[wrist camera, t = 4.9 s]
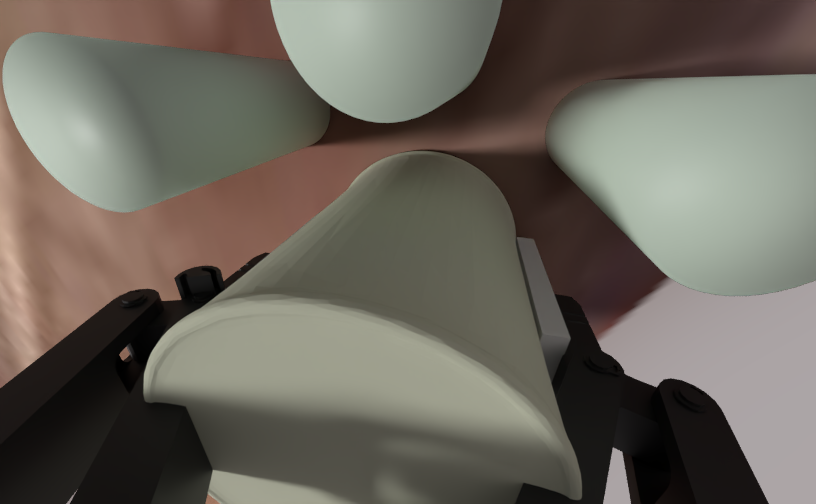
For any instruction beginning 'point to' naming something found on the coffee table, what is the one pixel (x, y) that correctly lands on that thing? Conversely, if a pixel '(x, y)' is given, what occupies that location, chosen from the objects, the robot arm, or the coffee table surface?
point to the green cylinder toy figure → (376, 355)
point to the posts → (419, 94)
